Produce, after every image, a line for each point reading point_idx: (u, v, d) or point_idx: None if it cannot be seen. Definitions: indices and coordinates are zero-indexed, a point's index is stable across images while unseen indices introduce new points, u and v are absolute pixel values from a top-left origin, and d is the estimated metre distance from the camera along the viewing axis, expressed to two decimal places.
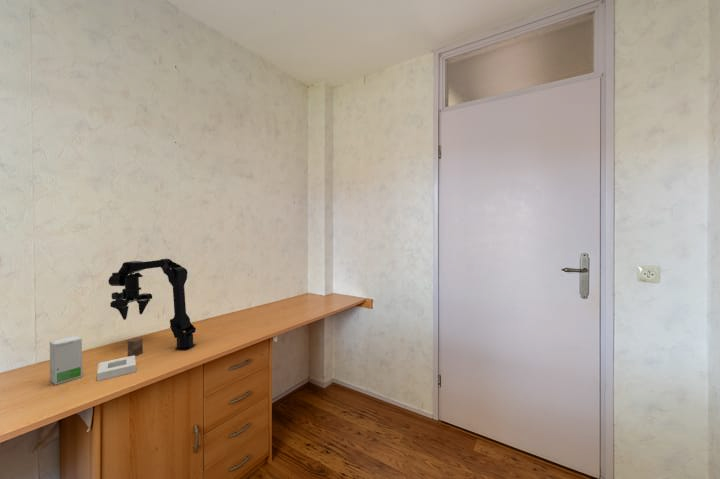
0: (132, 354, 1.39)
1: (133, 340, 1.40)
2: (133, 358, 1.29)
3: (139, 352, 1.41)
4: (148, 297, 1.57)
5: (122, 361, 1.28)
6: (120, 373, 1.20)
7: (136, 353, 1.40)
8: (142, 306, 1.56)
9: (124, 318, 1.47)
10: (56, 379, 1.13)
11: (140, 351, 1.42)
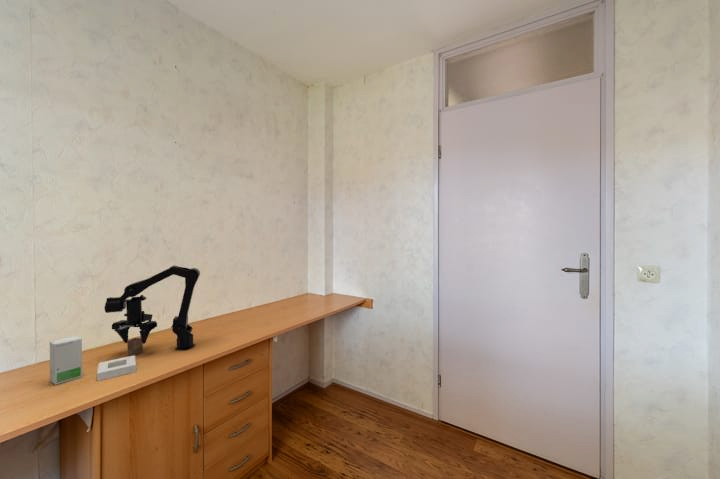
0: (132, 354, 1.39)
1: (133, 340, 1.40)
2: (133, 358, 1.29)
3: (139, 352, 1.41)
4: (141, 327, 1.37)
5: (122, 361, 1.28)
6: (120, 373, 1.20)
7: (136, 353, 1.40)
8: None
9: None
10: (56, 379, 1.13)
11: (140, 351, 1.42)
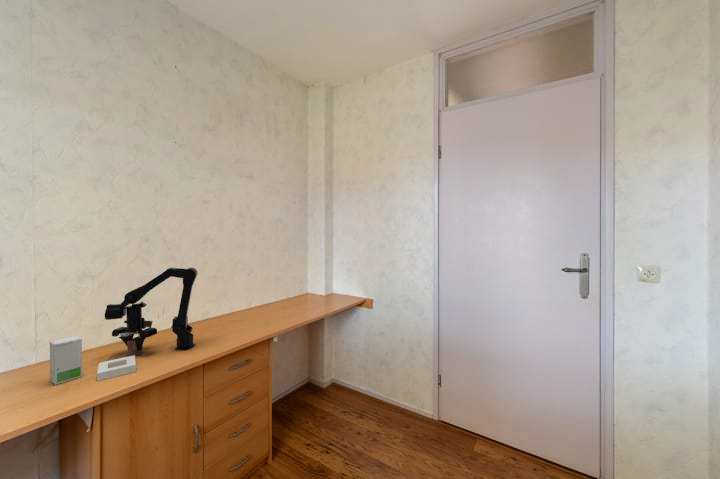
0: (132, 354, 1.39)
1: (133, 340, 1.40)
2: (133, 358, 1.29)
3: (139, 352, 1.41)
4: (141, 334, 1.37)
5: (122, 361, 1.28)
6: (120, 373, 1.20)
7: (136, 353, 1.40)
8: None
9: None
10: (56, 379, 1.13)
11: (140, 351, 1.42)
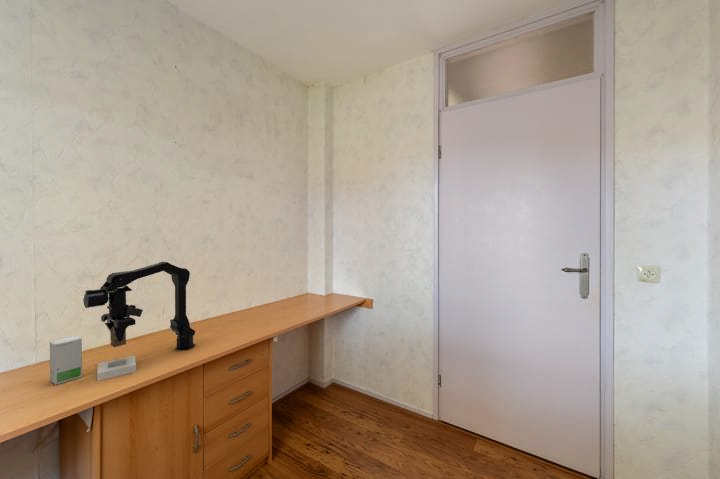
0: (112, 344, 1.24)
1: None
2: (133, 358, 1.29)
3: (120, 343, 1.25)
4: (114, 324, 1.20)
5: (122, 361, 1.28)
6: (120, 373, 1.20)
7: (115, 344, 1.24)
8: None
9: None
10: (56, 379, 1.13)
11: (122, 342, 1.26)
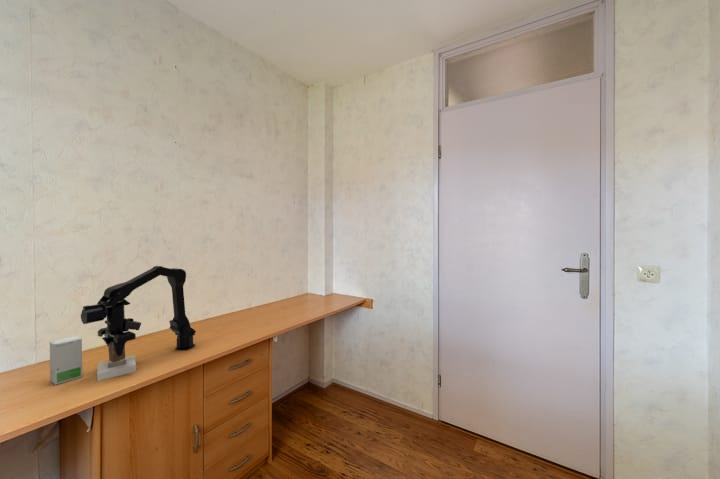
0: (111, 359, 1.22)
1: None
2: (133, 358, 1.29)
3: (119, 358, 1.24)
4: (114, 339, 1.18)
5: (122, 361, 1.28)
6: (120, 373, 1.20)
7: (115, 359, 1.22)
8: None
9: None
10: (56, 379, 1.13)
11: (121, 357, 1.24)
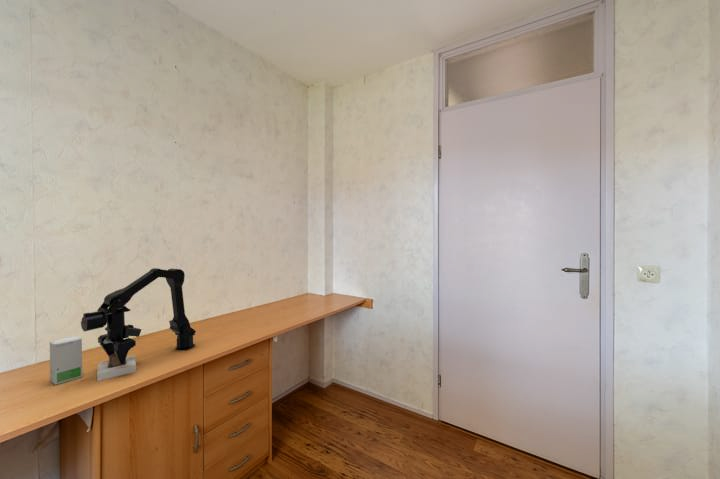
0: None
1: (114, 355, 1.23)
2: (133, 358, 1.29)
3: None
4: (114, 346, 1.18)
5: None
6: (120, 373, 1.20)
7: None
8: None
9: None
10: (56, 379, 1.13)
11: None
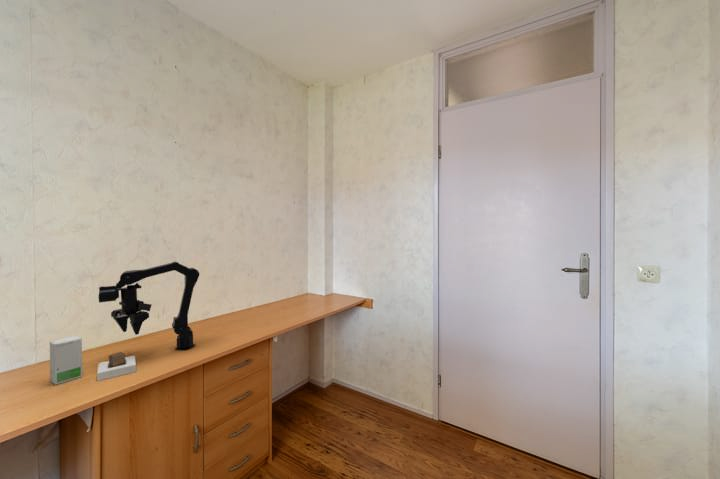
0: None
1: (114, 355, 1.23)
2: (133, 358, 1.29)
3: None
4: (130, 317, 1.30)
5: None
6: (120, 373, 1.20)
7: None
8: None
9: None
10: (56, 379, 1.13)
11: None
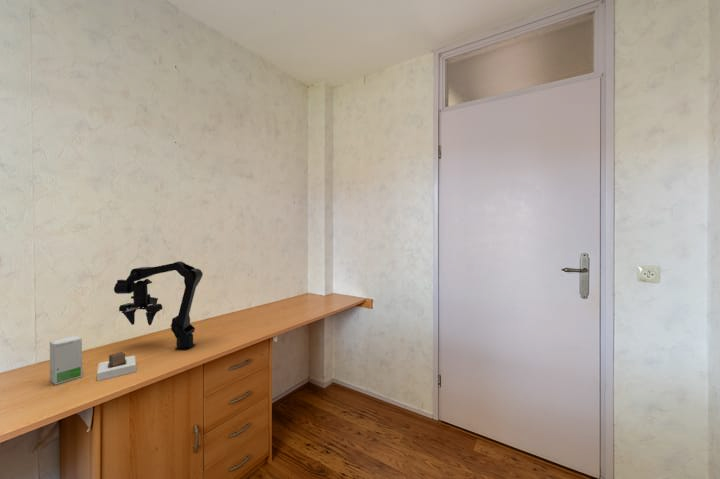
0: None
1: (114, 355, 1.23)
2: (133, 358, 1.29)
3: None
4: (147, 309, 1.43)
5: None
6: (120, 373, 1.20)
7: None
8: None
9: None
10: (56, 379, 1.13)
11: None
